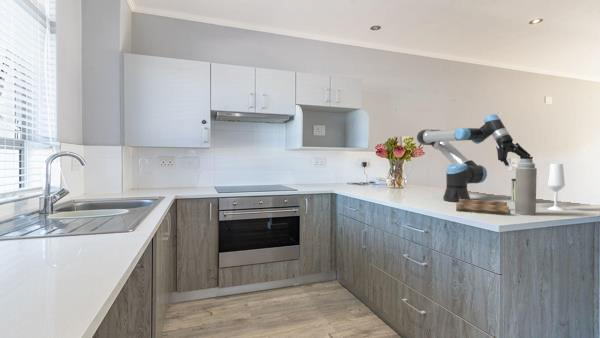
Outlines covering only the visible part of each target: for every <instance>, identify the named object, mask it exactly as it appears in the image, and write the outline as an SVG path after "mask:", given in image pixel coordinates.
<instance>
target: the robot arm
mask: <svg viewBox="0 0 600 338" xmlns="http://www.w3.org/2000/svg"><path fill="white" fill-rule="evenodd" d="M483 123H484V124H482V126H481V127H479V128H475V127H469V128H468V127H460V128H454V129H453V128H452V129H421V130H420V131H419V132H418V133H417V135H416V139H417V142H418V144H420V145H423V146H431V147H432V148H433V149H434V150H437V151H439V152H440V153H441V154H442V155H443V156H444V157H445V158H446V159H448V161H449V162H450V163H451V164H449V165H447V167H446V176H445V177H446V188H445V191H444V195H442V196H443V199H442V200H443V201H446V202H451V203H459V199H466V200H471V196H470V195H469V194H470V193H469V191H468V184H470V185H471V184H480V183H483V182H484V181H485V180H486V179H487V176H488V171H487V169H486V167H485V166H484V165H481V164H479V165H478V164H477V163H476V162H474V160H471V159H468V158H467V157H466V156H465V155H463V154H462V153H461V152H460V151H459V150H458V149H457V148H456V147H455V146H454V145H453V144H452V143H451V142H457V141H471V142H473V144H477V145H478V144H480V143H482V142H484V141H485V140H486V139H488V138H490V136H492V138H493V140H494V141H495V143H496V144H497V145H496V146H495V148H496V152H497V153H496V154H497V160H498V161H500V162H501V163H503V165H504V166H505V167H506V168H507V171H508V172H512V171H514V170H515V167H514V166H513V165H512V162H511V161H510V160H509V158H508V154H509V153H513V154H516V155H517V156H518V157H519V158H520V157H532V156H531V154H530V153H529V152H528V151H527V150H526V149H524V148H523V147H522V146H521V145H520V144H519V143H518V142H516V143H514V139H513V137H512V136H511V135H510V133H509V131H508V130H507V128H506V126H505V125H504V123H503V122H502V120H501V118H500V117H499V116H498V115H497V114H489V115H488V116H486V117H485V118H484V119H483Z"/></svg>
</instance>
